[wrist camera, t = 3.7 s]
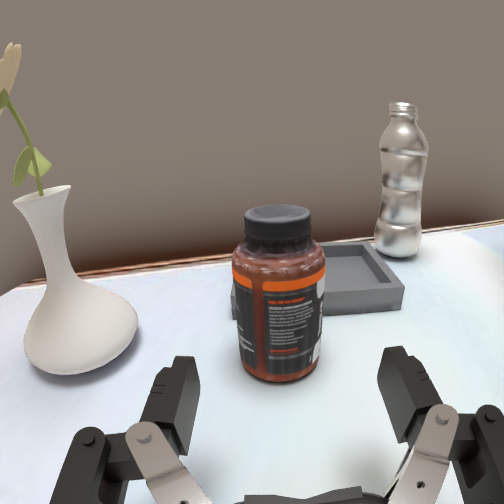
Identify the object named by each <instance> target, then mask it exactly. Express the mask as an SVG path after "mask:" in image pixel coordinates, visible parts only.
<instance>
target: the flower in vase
mask: <svg viewBox="0 0 504 504" xmlns="http://www.w3.org/2000/svg"><path fill="white" fill-rule="evenodd" d="M12 48H13V43H10V44H9V45H8V46H7V48H6V50H5V52H4V56H3V59H1V60H0V116H1V114H2V112H3V109H4V107H5V106H6V105H7V107H8V108H9V110H10V111H11V113H12V115H13V116H14V118H15V120H16V122H17V124H18V125H19V127H20V129H21V131H22V133H23V135H24V137H25V140H26V142H27V145H28V146H27V147H26V148H25V149H24V150H23V151H22V153H21V154H20V155H19V157H18V159H17V162H16V165H15V170H14V178H13V182H12V183H13V185H14V186H20V185H21V184H22V182H23V181H24V179H25V176H26V174H27V172H28V173H29V174H31V175H32V176H34V177H36V181H37V186H38V192H34V193H31V194H28V195H26V196H23V197H20V198H18V199H16V200H15V201H13V205H14V206H16V207H17V208H18V209H19V210H20V211H21V213H22V214H23V215H24V216H25V218H26V220H27V221H28V223H29V225H30V227H31V229H32V231H33V233H34V236H35V238H36V241H37V243H38V246H39V249H40V252H41V256H42V259H43V262H44V266H45V270H46V276H47V289H46V291H45V294H44V296H43V298H42V300H41V302H40V303H39V305H38V306H37V308H36V310H35V311H34V313H33V315H32V317H31V319H30V321H29V323H28V325H27V328H26V331H25V335H24V349H25V354H26V357H27V358H28V360H29V361H30V362H31V363H32V364H33V365H34V366H36V367H38V368H39V369H41V370H43V371H46V372H48V373H52V374H57V375H73V374H79V373H84V372H87V371H91V370H94V369H96V368H98V367H101V366H103V365H105V364H106V363H108V362H110V361H111V360H113V359H114V358H116V357H117V356H118V355H119V354H121V353H122V352H123V351H124V350H125V349H126V348H127V346H128V345H129V344H130V342H131V341H132V339H133V337H134V334H135V332H136V329H137V326H138V316H137V313H136V311H135V310H134V308H133V307H132V306H131V304H130V303H129V302H128V301H127V300H126V299H124V298H123V297H121V296H119V295H117V294H115V293H113V292H111V291H109V290H106V289H103V288H101V287H98V286H95V285H92V284H90V283H87V282H85V281H83V280H82V279H80V278H79V277H78V276H77V275H76V274H75V273H74V271H73V268H72V266H71V264H70V261H69V258H68V254H67V249H66V245H65V239H64V230H63V212H64V204H65V201H66V198H67V195H68V193H69V191H70V189H71V186H70V185H65V186H58V187H53V188H49V189H45V190H43V189H42V184H41V179H40V176H43V175H44V174H45V173H46V172H47V171H48V170H49V169H50V168H51V167H52V165H51V164H50V162H49V161H48V160H46V159H45V158H44V157H43V156H42V155H41V154H40V153H39V152H38V150H37V149H36V148H34V149H33V146H32V143H31V139H30V137H29V134H28V132H27V130H26V128H25V126H24V124H23V122H22V120H21V118H20V116H19V115H18V113H17V111H16V109H15V108H14V106H13V104H12V103H11V101H10V100H9V93H10V90H11V87H12V85H13V83H14V80H15V75H16V73H17V70H18V67H19V61H20V58H21V45H20V44H18V45H17V44H16V45H15V46H14V48H13V49H12Z"/></svg>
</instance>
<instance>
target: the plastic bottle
mask: <svg viewBox="0 0 504 504" xmlns="http://www.w3.org/2000/svg"><path fill="white" fill-rule="evenodd" d="M389 110H390V111H389V112H390V113H389V117H391V123H390V124H389V126H388V127H387V128H386V129H385V131H384V133H383V135H382V136H381V139H380V143H379V144H380V150H381V152H380V155H381V163H382V183H383V187H382V199H381V205H380V212H379V218H378V220H377V223H376V228H375V232H374V239H375V245H376V247H377V249H378V251H379V252H381V253H383V254H385V255H388V256H392V257H402V258H403V257H410V256H412V255H414V254H415V252H416V251H417V250H418V248H419V245H420V242H421V223H420V221H421V196H422V187H423V180H424V173H425V168H426V163H427V155H428V149H429V147H428V143H427V140H426V138H425V136H424V135H423V133H422V131H421V130H420V128H419V127H418V125H417V122H416V120H417V119H419V117H418V112H417V105H413V104H408V103H389Z"/></svg>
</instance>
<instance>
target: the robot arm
mask: <svg viewBox="0 0 504 504" xmlns="http://www.w3.org/2000/svg"><path fill="white" fill-rule="evenodd" d="M377 381H378V386H379V389H380V392H381V395H382V397H383V400H384V403H385V406H386V409H387V412H388V414H389V417H390V420H391V423H392V426H393V429H394V432H395V435H396V438H397V441H398V444H399V443H403V442H408V445H409V447H408V449H407V451H406V453H405V455H404V457H403V459H402V461H401V464H400V466H399V468H398V470H397V472H396V474H395V476H394V477H393V479H392V481H391V483H390V485H389V486H388V488H387V490H386V491H385V493H384V494H383V496H380V495H376V494H373V493H366V492H362V489H361V486H357V487H351V488H345V489H338V490H332V491H329V492H327V493H324V494H321V495H318V496H314V497H311V498H308V499H296V498H290V497H283V496H277V495H245V496H244V501H243V502H238V503H235V504H435V502H436V499H437V497H438V494H439V492H440V489H441V487H442V484H443V481H444V479H445V476H446V473H447V470H448V467H449V464H450V461H452V464H453V467H454V470H455V473H456V477H457V480H458V483H459V487H460V490H461V494H462V497H463V501H464V504H504V416H503V414H502V412H501V411H500V409H499V408H497V407H496V406H493V405H483V406H481V407H480V408H479V409H478V410H477V412H476V414H459V413H457V411H456V410H455V409H454V408H453V407H451V406H449V405H446V404H443V402H442V400H441V398H440V397H439V395H438V393H437V391H436V389H435V387H434V385H433V383H432V381H431V379H429V376H428V374H427V373H426V370H425V368H424V366H423V365H422V363H421V362H420V361H419V360H418V359H417V358H415V357H414V356H408V355H407V353H406V351H405V349H404V348H403V346H395V347H388V348H385V349H384V351H383V355H382V359H381V363H380V367H379V370H378V375H377ZM199 396H200V381H199V376H198V372H197V367H196V363H195V359H194V357H193V356H176V357H175V358H174V361H173V364H172V367H171V368H169V367H164V368H163V369H162V370H161V371H160V372H159V373H158V374H157V375H156V377H155V380H154V383H153V386H152V388H151V391H150V394H149V396H148V399H147V402H146V404H145V407H144V410H143V413H142V416H141V418H140V421H139V423H136V424H134V425H132V426H131V427H130V428H129V429H128V430H127V432H124V433H117V434H107V435H104V433H103V432H102V431H101V430H100V429H98V428H96V427H85V428H83V429H81V430H79V431H78V432H77V433H76V434H75V436H74V438H73V441H72V443H71V446H70V448H69V451H68V453H67V456H66V458H65V461H64V464H63V466H62V469H61V472H60V474H59V477H58V480H57V483H56V486H55V488H54V491H53V494H52V497H51V500H50V503H49V504H124V500H125V495H126V491H127V486H128V482H129V480H140V479H145V480H146V484H147V486H148V488H149V490H150V492H151V494H152V496H153V497H154V499H155V501H156V502H157V504H212V503H211V501H210V500H209V499H208V497H207V496H206V495H205V493H204V492H203V491H202V489H201V488H200V487H199V485H198V484H197V482H196V481H195V480H194V478H193V477H192V475H191V474H190V473H189V471H188V470H187V469H186V467H184V466H183V464H182V463H181V461H180V460H179V455H185V456H187V455H188V450H189V445H190V440H191V435H192V430H193V425H194V420H195V415H196V410H197V406H198V401H199Z"/></svg>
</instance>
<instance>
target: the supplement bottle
mask: <svg viewBox="0 0 504 504" xmlns="http://www.w3.org/2000/svg"><path fill="white" fill-rule="evenodd" d="M244 220H245V229H244V233H245V234H246V237H245V239H244V240H243V242H242V243H241V244H239V245H238V247H237V248H236V249H235V251H234V253H233V255H232V273H233V285H234V296H235V308H236V318H237V329H238V339H239V348H240V355H241V360H242V363H243V365H244V367H245V368H246V369H247V370H248V371H249V372H250V373H251V374H252V375H254V376H256V377H258V378H261V379H263V380H267V381H272V382H285V381H291V380H295V379H298V378H300V377H303V376H304V375H306V374H307V373H309V372H310V371H311V370H312V369H313V368H314V367H315V365H316V363H317V361H318V358H319V352H320V343H321V333H322V316H323V300H324V285H325V254H324V251H323V249H322V247H321V246H320V245H319V244H318V243H317V242H315V240H313V239H312V238H311V235H310V232H311V214H310V211H309V210H308V209H306V208H304V207H300V206H295V205H266V206H261V207H256V208H253V209H250V210H248V211H247V212H246V213H245V215H244Z"/></svg>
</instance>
